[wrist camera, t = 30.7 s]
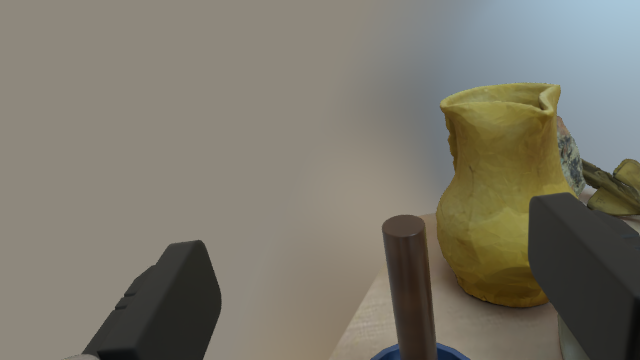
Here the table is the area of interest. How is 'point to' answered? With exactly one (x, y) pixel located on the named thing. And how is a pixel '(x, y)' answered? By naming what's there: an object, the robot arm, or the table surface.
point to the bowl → (446, 355)
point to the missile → (614, 188)
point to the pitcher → (498, 186)
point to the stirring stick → (410, 286)
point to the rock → (570, 158)
